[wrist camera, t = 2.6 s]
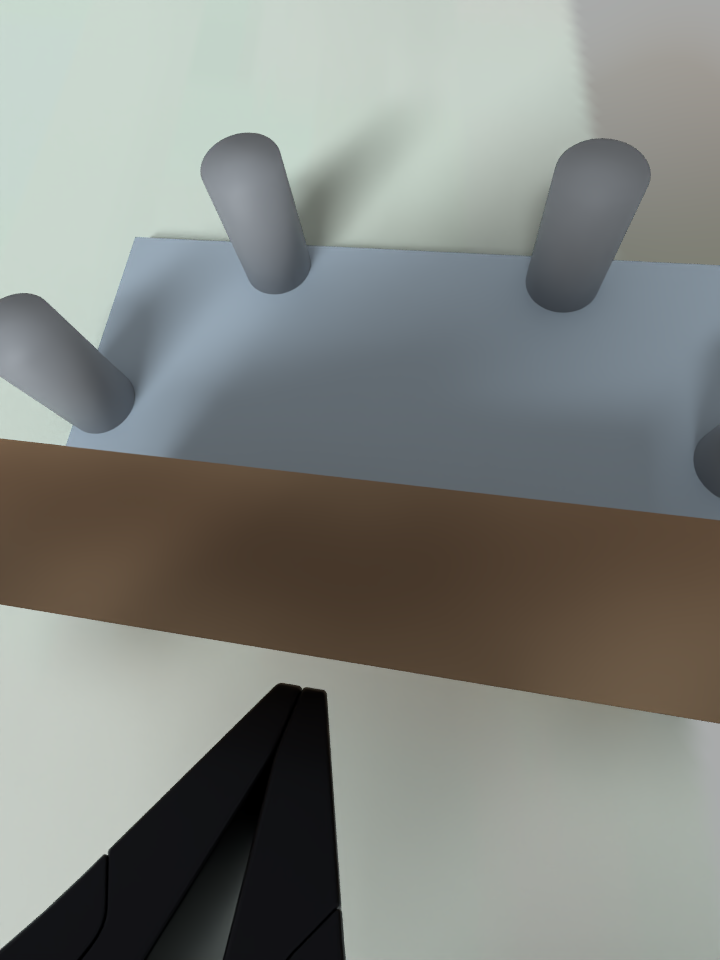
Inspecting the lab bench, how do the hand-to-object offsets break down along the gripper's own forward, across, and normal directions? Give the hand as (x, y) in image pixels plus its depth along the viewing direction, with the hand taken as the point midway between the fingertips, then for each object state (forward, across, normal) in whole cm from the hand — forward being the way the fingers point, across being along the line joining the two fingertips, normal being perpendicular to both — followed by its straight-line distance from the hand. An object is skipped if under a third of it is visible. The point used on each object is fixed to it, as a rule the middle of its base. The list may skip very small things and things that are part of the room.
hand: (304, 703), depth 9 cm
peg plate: (+12, 0, -2) cm, 12 cm away
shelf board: (+7, 0, +4) cm, 8 cm away
